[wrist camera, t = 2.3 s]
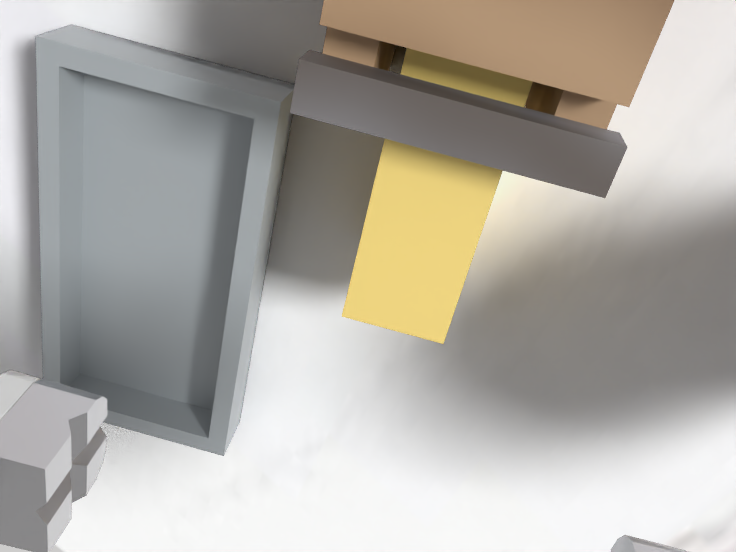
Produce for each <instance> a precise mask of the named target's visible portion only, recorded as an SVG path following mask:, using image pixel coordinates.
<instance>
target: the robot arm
mask: <svg viewBox="0 0 736 552" xmlns="http://www.w3.org/2000/svg"><path fill="white" fill-rule="evenodd" d="M106 417H107V399H106V398H105V397H103V396H101V395H97V394H94V393H91V392H87V391H84V390H80V389H77V388H74V387H70V386H67V385H63V384H60V383H57V382H53V381H50V380H46V379H43V378H42V379H41V378H37V377H34V376H31V375H27V374H24V373H20V372H17V371H14V370H9V371H7V372H5V373H3V374H1V375H0V544H3V545H7V546H11V547H15V548H20V549H24V550H28V551H33V552H50V551H51V550H52V548H53V547H54V545H55V544H56V542H57V540H58V539H59V537H60V536H61V534H62V533H63V531H64V530H65V528H66V526H67V525H68V523H69V522H70V520H71V518H72V502H74V501H76V500H78V499H80V498H82V497H84V496H86V495H87V493H88V492H89V490H90V489H91V487H92V485H93V484H94V482H95V480H96V478H97V476H98V473H99V471H100V468H101V466H102V463H103V460H104V456H105V451H106V442H107V436H106V434H105V433H104V432H103V430H102V429H101V427H100V425H101V424H102V422H103V421H104V420H105V418H106ZM611 552H687V551H686V550H682V549H679V548H675V547H671V546H667V545H663V544H659V543H655V542H651V541H647V540H643V539H639V538H636V537H632V536H628V535H624V536H622V537H620V538H619V539H617V541H616V543H615V544H614V546H613V547H612V549H611Z"/></svg>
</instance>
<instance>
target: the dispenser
mask: <svg viewBox="0 0 736 552" xmlns="http://www.w3.org/2000/svg"><path fill="white" fill-rule="evenodd" d="M673 2H674V0H324V2H323V8H322V13H321V19H320V24H319V25H323V26H327V31H326V36H325V41H324V47H323V52H322V53H319V52H315V51H312V50H309V51H308V52H307V53H305V54H304V55H303V56H302V57H301V58H300V59H299V62H298V68H297V74H296V80H295V86H294V91H293V97H292V103H291V109H290V113H292V114H296V115H299V116H303V117H307V118H310V119H314V120H318V121H322V122H325V123H329V124H333V125H336V126H340V127H344V128H347V129H351V130H355V131H359V132H362V133H366V134H370V135H373V136H377V137H381V138H385V139H388V140H392V141H396V142H399V143H403V144H407V145H410V146H414V147H418V148H422V149H425V150H429V151H433V152H436V153H440V154H444V155H448V156H451V157H455V158H459V159H462V160H466V161H470V162H473V163H477V164H481V165H485V166H488V167H492V168H496V169H499V170H503V171H507V172H511V173H514V174H518V175H522V176H525V177H529V178H533V179H536V180H540V181H544V182H548V183H551V184H555V185H559V186H562V187H566V188H570V189H574V190H577V191H581V192H585V193H588V194H592V195H596V196H599V197H603V198H605V197H606V195H607V193H608V190H609V188H610V186H611V184H612V181H613V179H614V177H615V174H616V172H617V170H618V167H619V165H620V163H621V161H622V158H623V156H624V154H625V151H626V149H627V146H626V144H625V142H624V140H623V138H622V136H621V135H620V133H618V132H614V131H610V130H607V127H608V125H609V122H610V120H611V118H612V115H613V113H614V110H615V108H616V105H617V104H619V105H623V106H627V107H629V106H630V104H631V101H632V99H633V97H634V94H635V92H636V90H637V87H638V85H639V82H640V80H641V78H642V75H643V73H644V71H645V68H646V66H647V64H648V61H649V59H650V57H651V54H652V52H653V50H654V47H655V45H656V42H657V40H658V38H659V35H660V33H661V31H662V28H663V26H664V24H665V21H666V19H667V17H668V14H669V12H670V10H671V7H672V5H673ZM396 45H398V46H402V47H405V48H409V49H413V50H417V51H420V52H424V53H428V54H432V55H435V56H439V57H443V58H447V59H450V60H454V61H458V62H462V63H465V64H469V65H473V66H477V67H480V68H484V69H488V70H492V71H495V72H499V73H503V74H507V75H510V76H514V77H518V78H522V79H525V80H529V81H533V83H532V86H531V89H530V92H529V94H528V97H527V100H526V103H525V104H526V108H524V107H521V106H517V105H513V104H510V103H506V102H502V101H498V100H495V99H491V98H487V97H483V96H480V95H476V94H472V93H468V92H465V91H461V90H457V89H453V88H450V87H446V86H442V85H439V84H435V83H431V82H427V81H424V80H420V79H416V78H412V77H409V76H405V75H401V74H397V73H394V72H390V71H389V69H390V67H391V63H392V59H393V55H394V51H395V46H396Z"/></svg>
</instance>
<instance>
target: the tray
mask: <svg viewBox="0 0 736 552" xmlns="http://www.w3.org/2000/svg"><path fill="white" fill-rule="evenodd" d="M36 80H37V127H38V174H39V221H40V267H41V314H42V361H43V379H46V380H50V381H53V382H57V383H60V384H63V385H67V386H70V387H74V388H77V389H80V390H84V391H87V392H91V393H94V394H97V395H101V396H103V397H105V398H106V399H107V417H106V418H105V420H104V421H103V422H105V423H108V424H112V425H115V426H119V427H122V428H126V429H129V430H133V431H137V432H140V433H144V434H147V435H151V436H154V437H158V438H162V439H165V440H169V441H172V442H176V443H179V444H183V445H186V446H190V447H194V448H197V449H201V450H204V451H208V452H211V453H215V454H218V455H222V456H224V454H225V452H226V450H227V448H228V446H229V444H230V442H231V439H232V437H233V435H234V433H235V431H236V429H237V427H238V424H239V422H240V417H241V411H242V405H243V399H244V393H245V388H246V382H247V376H248V370H249V364H250V359H251V353H252V347H253V341H254V335H255V330H256V324H257V318H258V312H259V306H260V301H261V295H262V289H263V283H264V277H265V272H266V266H267V260H268V254H269V248H270V243H271V237H272V231H273V225H274V219H275V214H276V208H277V202H278V196H279V190H280V185H281V179H282V173H283V167H284V161H285V155H286V150H287V144H288V138H289V132H290V126H291V121H292V115H293V114H292V113H290V109H291V103H292V97H293V91H294V86H295V85H294V84H291V83H287V82H283V81H279V80H276V79H272V78H268V77H265V76H261V75H257V74H253V73H250V72H246V71H242V70H239V69H235V68H231V67H227V66H224V65H220V64H216V63H212V62H209V61H205V60H201V59H198V58H194V57H190V56H186V55H183V54H179V53H175V52H172V51H168V50H164V49H160V48H157V47H153V46H149V45H146V44H142V43H138V42H134V41H131V40H127V39H123V38H120V37H116V36H112V35H108V34H105V33H101V32H97V31H94V30H90V29H86V28H82V27H79V26H75V25H68V26H65V27H62V28H59V29H56V30H53V31H50V32H46V33H43V34H40V35H37V36H36Z"/></svg>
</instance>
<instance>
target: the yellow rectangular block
mask: <svg viewBox="0 0 736 552" xmlns="http://www.w3.org/2000/svg"><path fill="white" fill-rule="evenodd" d="M400 74H401V75H405V76H409V77H412V78H416V79H420V80H424V81H427V82H431V83H435V84H439V85H442V86H446V87H450V88H453V89H457V90H461V91H465V92H468V93H472V94H476V95H480V96H483V97H487V98H491V99H495V100H498V101H502V102H506V103H510V104H513V105H517V106H521V107H524V106H525V103H526V100H527V97H528V94H529V92H530V89H531V86H532V83H533V81H529V80H525V79H522V78H518V77H514V76H510V75H507V74H503V73H499V72H495V71H492V70H488V69H484V68H480V67H477V66H473V65H469V64H465V63H462V62H458V61H454V60H450V59H447V58H443V57H439V56H435V55H432V54H428V53H424V52H420V51H417V50H413V49H409V48H406V53H405V57H404V61H403V65H402V69H401V73H400ZM502 171H503V170H499V169H496V168H492V167H488V166H485V165H481V164H477V163H473V162H470V161H466V160H462V159H459V158H455V157H451V156H448V155H444V154H440V153H436V152H433V151H429V150H425V149H422V148H418V147H414V146H410V145H407V144H403V143H399V142H396V141H392V140H388V139H384V144H383V148H382V152H381V156H380V160H379V164H378V168H377V173H376V177H375V181H374V185H373V189H372V193H371V197H370V202H369V206H368V210H367V214H366V218H365V222H364V226H363V230H362V235H361V239H360V243H359V247H358V251H357V255H356V259H355V264H354V268H353V272H352V276H351V280H350V284H349V288H348V293H347V297H346V301H345V305H344V309H343V313H342V317H346V318H350V319H353V320H357V321H361V322H364V323H368V324H372V325H375V326H379V327H383V328H386V329H390V330H394V331H397V332H401V333H405V334H408V335H412V336H416V337H419V338H423V339H427V340H430V341H434V342H438V343H441V344H444V341H445V338H446V335H447V332H448V329H449V326H450V323H451V320H452V317H453V314H454V311H455V308H456V306H457V303H458V300H459V297H460V294H461V291H462V288H463V285H464V282H465V279H466V276H467V273H468V270H469V267H470V264H471V262H472V259H473V256H474V253H475V250H476V247H477V244H478V241H479V238H480V235H481V232H482V229H483V226H484V223H485V221H486V218H487V215H488V212H489V209H490V206H491V203H492V200H493V197H494V194H495V191H496V188H497V185H498V182H499V179H500V177H501V174H502Z"/></svg>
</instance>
